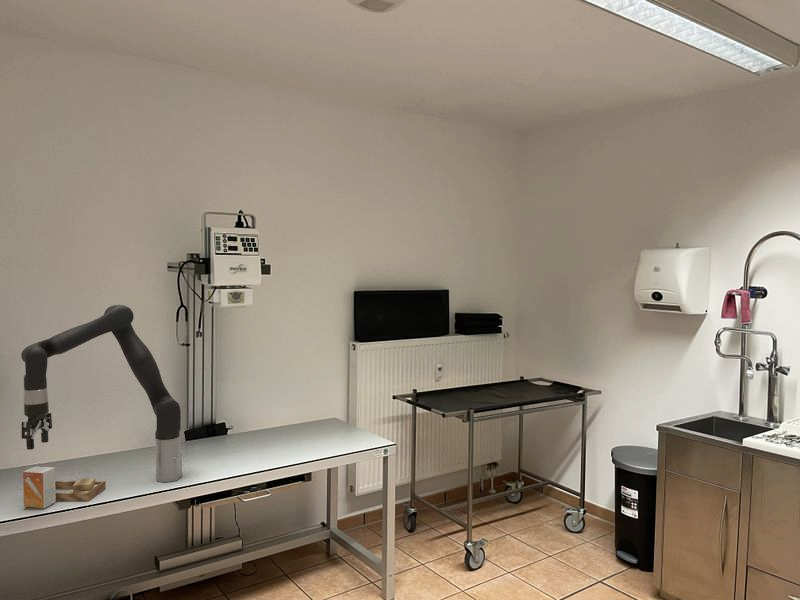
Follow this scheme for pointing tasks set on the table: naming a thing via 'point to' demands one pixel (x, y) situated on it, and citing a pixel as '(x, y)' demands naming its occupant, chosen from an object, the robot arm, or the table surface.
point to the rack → (78, 496)
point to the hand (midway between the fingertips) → (37, 445)
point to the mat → (35, 508)
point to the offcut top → (84, 485)
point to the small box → (39, 487)
